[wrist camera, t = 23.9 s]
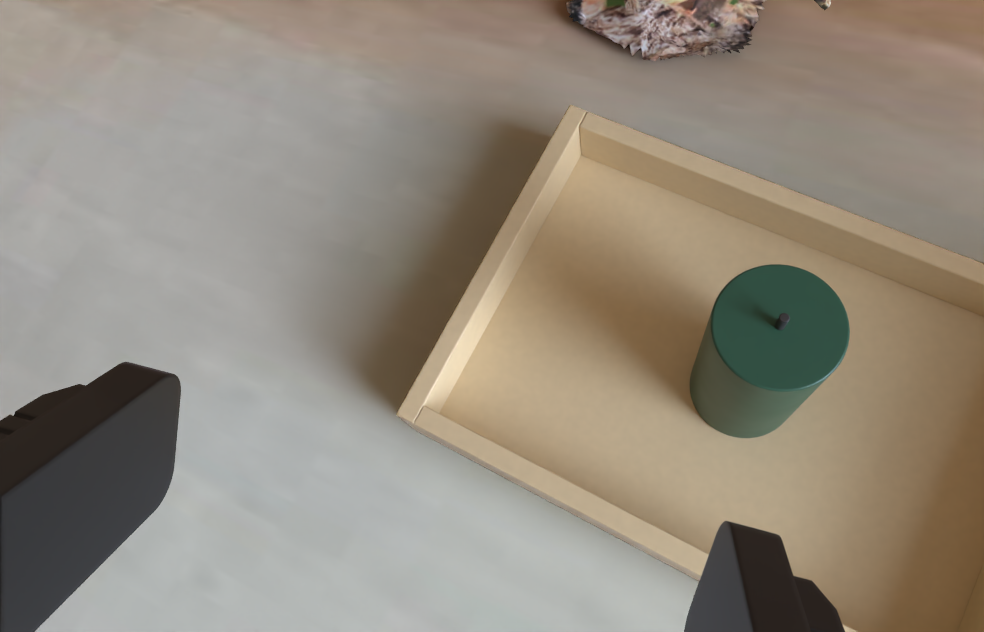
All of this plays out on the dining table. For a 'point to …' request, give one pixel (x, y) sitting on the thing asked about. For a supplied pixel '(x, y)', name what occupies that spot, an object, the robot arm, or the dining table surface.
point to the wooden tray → (668, 365)
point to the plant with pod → (672, 24)
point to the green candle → (767, 349)
